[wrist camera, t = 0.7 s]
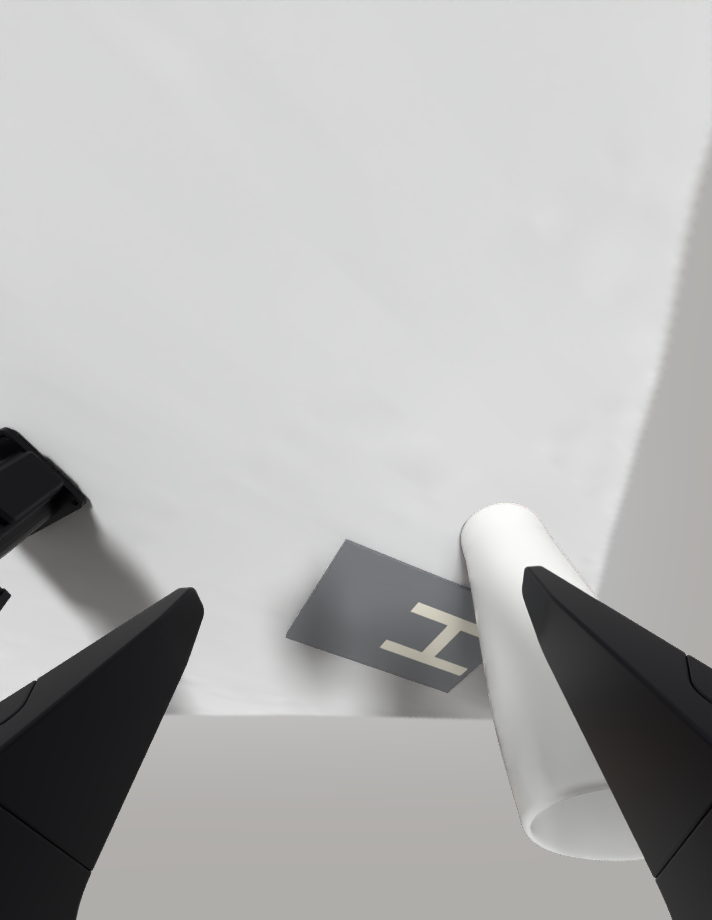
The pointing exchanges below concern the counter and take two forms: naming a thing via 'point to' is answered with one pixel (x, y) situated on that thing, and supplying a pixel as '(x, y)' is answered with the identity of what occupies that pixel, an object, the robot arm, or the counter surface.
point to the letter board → (392, 618)
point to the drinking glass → (536, 694)
